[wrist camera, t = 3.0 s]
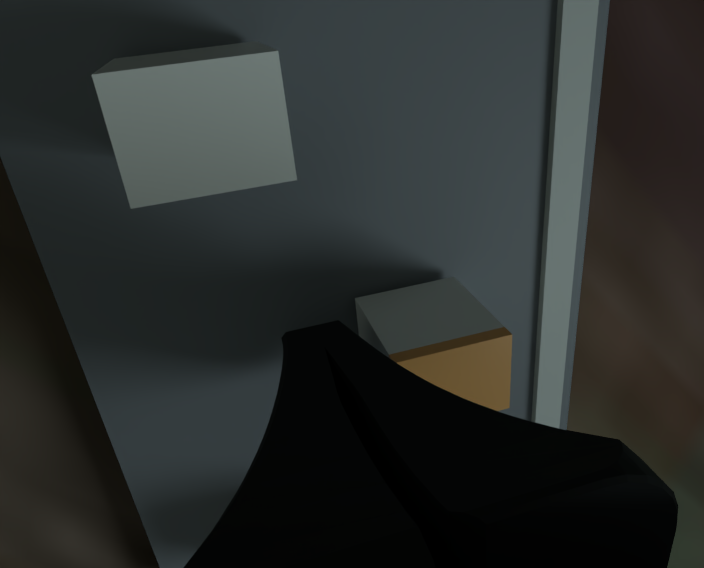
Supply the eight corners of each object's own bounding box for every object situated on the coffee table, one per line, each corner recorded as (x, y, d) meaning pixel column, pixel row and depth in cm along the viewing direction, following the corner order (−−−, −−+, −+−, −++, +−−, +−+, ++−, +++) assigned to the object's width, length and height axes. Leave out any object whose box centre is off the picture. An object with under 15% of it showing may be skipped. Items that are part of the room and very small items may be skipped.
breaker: (272, 143, 11) (297, 180, 8) (142, 163, 10) (130, 208, 8) (255, 41, 10) (278, 50, 8) (114, 58, 9) (91, 73, 7)
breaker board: (534, 465, 19) (563, 502, 18) (178, 569, 17) (178, 622, 16) (572, -86, 12) (626, -99, 11) (-41, -31, 10) (-81, -38, 8)
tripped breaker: (454, 340, 14) (509, 407, 12) (362, 363, 14) (399, 437, 11) (453, 276, 13) (512, 334, 11) (355, 298, 13) (393, 363, 10)
